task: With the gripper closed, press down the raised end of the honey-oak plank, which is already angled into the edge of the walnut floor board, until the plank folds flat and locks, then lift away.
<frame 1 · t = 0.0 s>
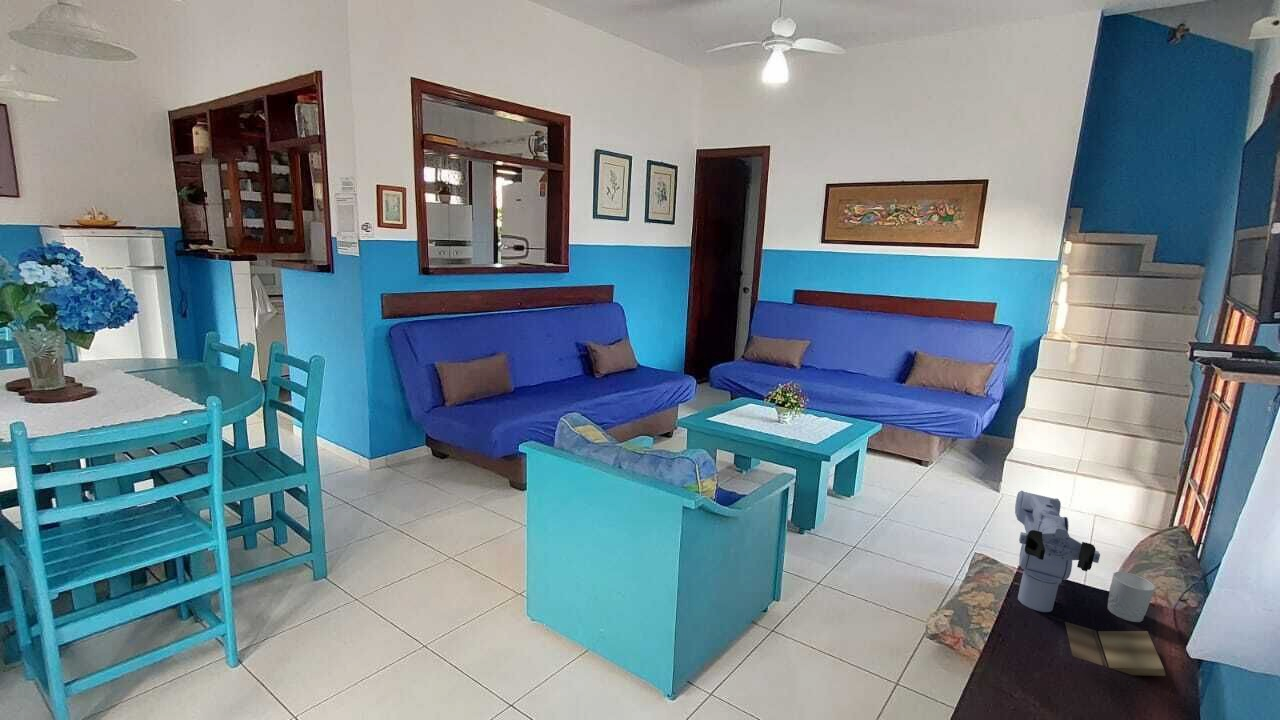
hand: (1063, 560, 132), 22 cm above the table, tool horizontal, fingers open, 7 cm apart
oak plank: (1129, 652, 135), point 2 cm above the table, hinge at 22.0°
white cup: (1123, 619, 152), on the table
walnut board: (1083, 649, 139), on the table
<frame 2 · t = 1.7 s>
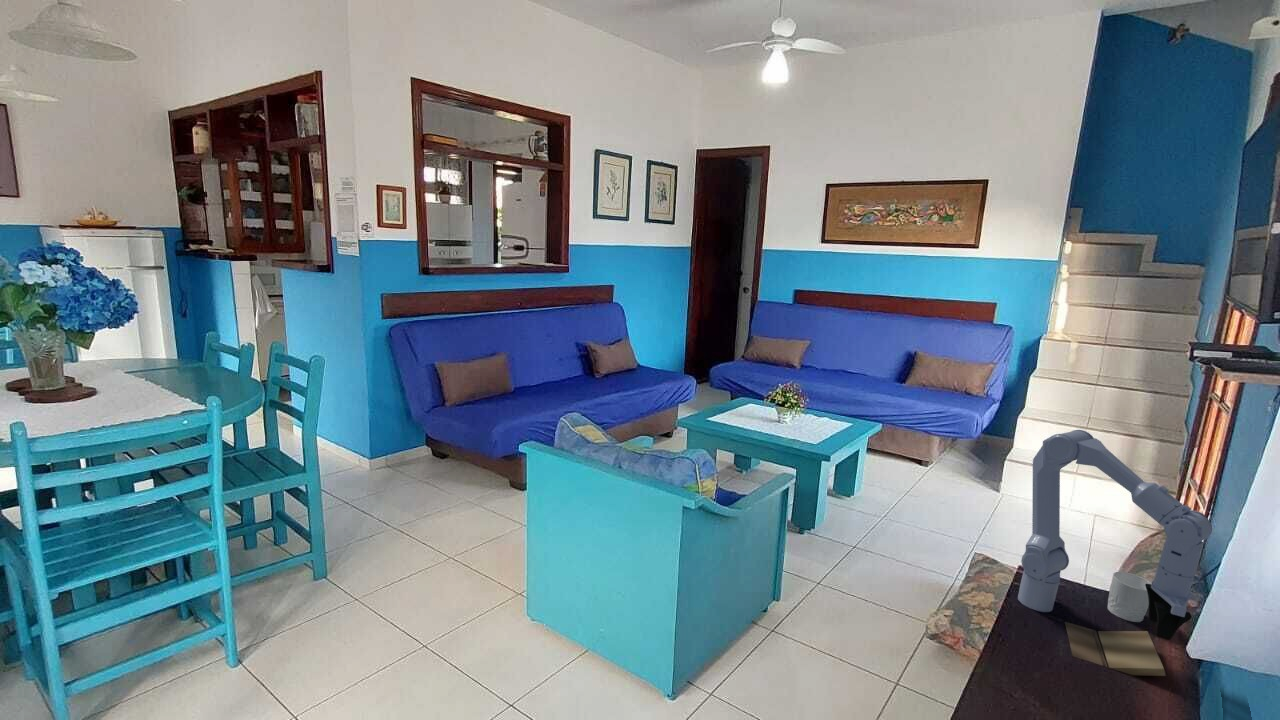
hand: (1158, 629, 132), 9 cm above the table, tool pointing down, fingers open, 6 cm apart
nothing on the table moved.
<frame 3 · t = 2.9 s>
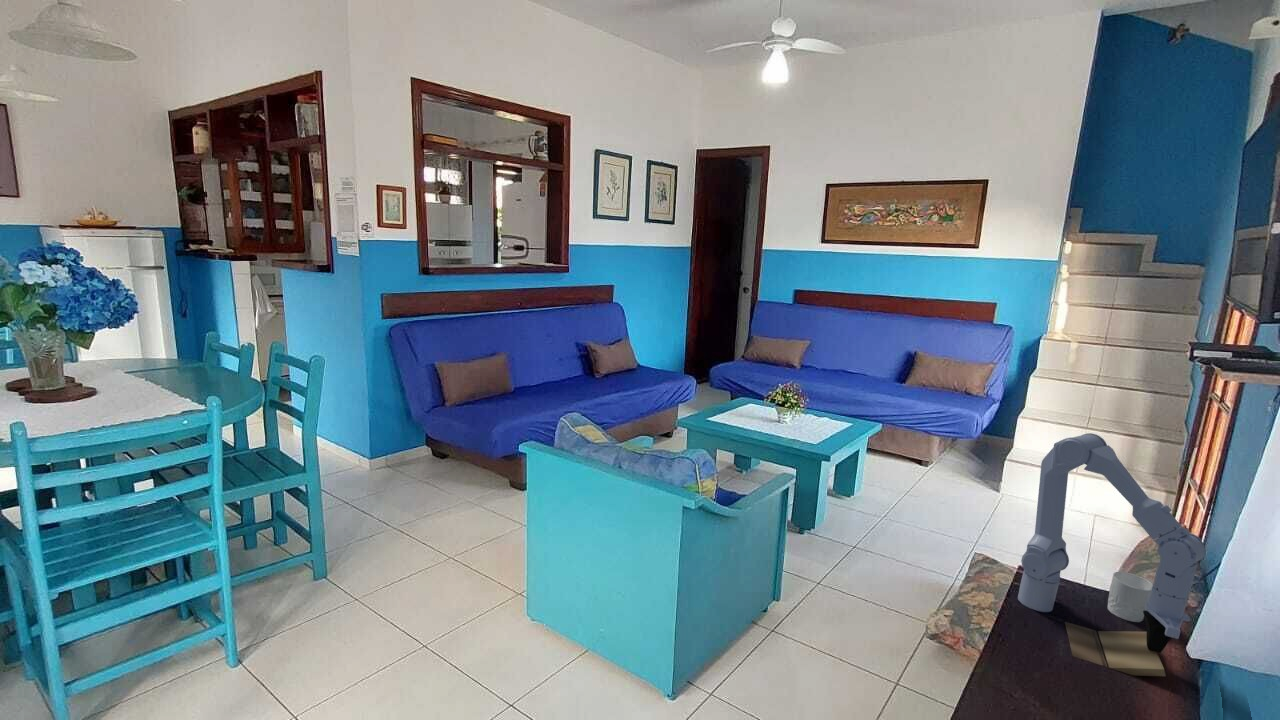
hand: (1153, 649, 133), 5 cm above the table, tool pointing down, fingers closed, pressing on oak plank
oak plank: (1129, 652, 135), point 2 cm above the table, hinge at 21.3°, touching gripper
everything else where it was.
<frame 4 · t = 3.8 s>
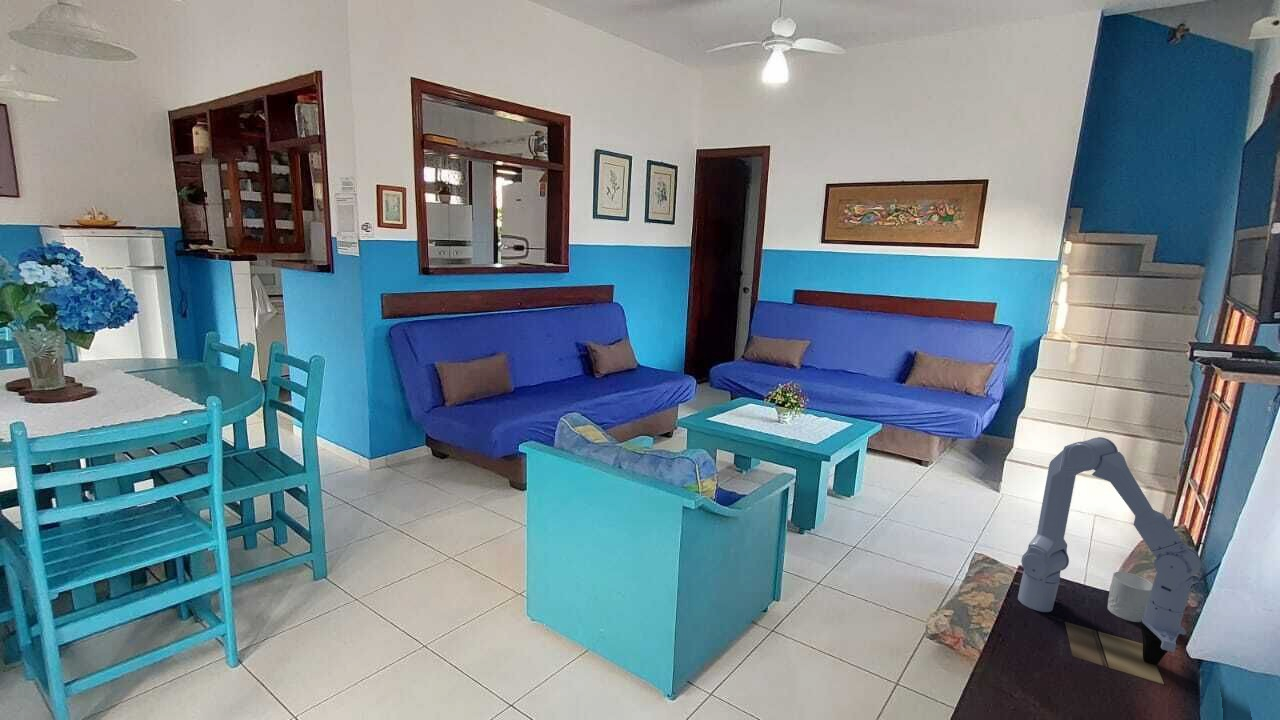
hand: (1149, 662, 134), 2 cm above the table, tool pointing down, fingers closed, pressing on oak plank
oak plank: (1128, 659, 135), point 1 cm above the table, hinge at 1.5°, touching gripper
everything else where it was.
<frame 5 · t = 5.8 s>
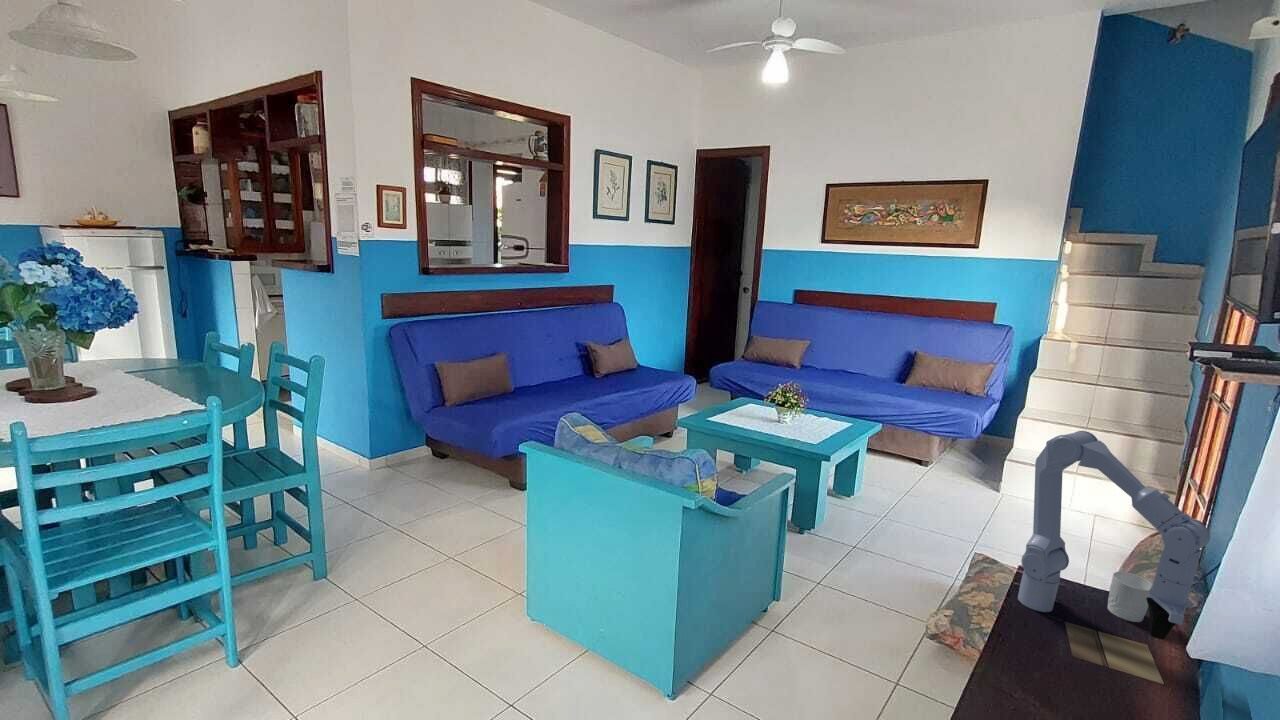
hand: (1156, 636, 132), 8 cm above the table, tool pointing down, fingers closed
oak plank: (1128, 659, 135), point 1 cm above the table, hinge at 1.4°
everything else where it was.
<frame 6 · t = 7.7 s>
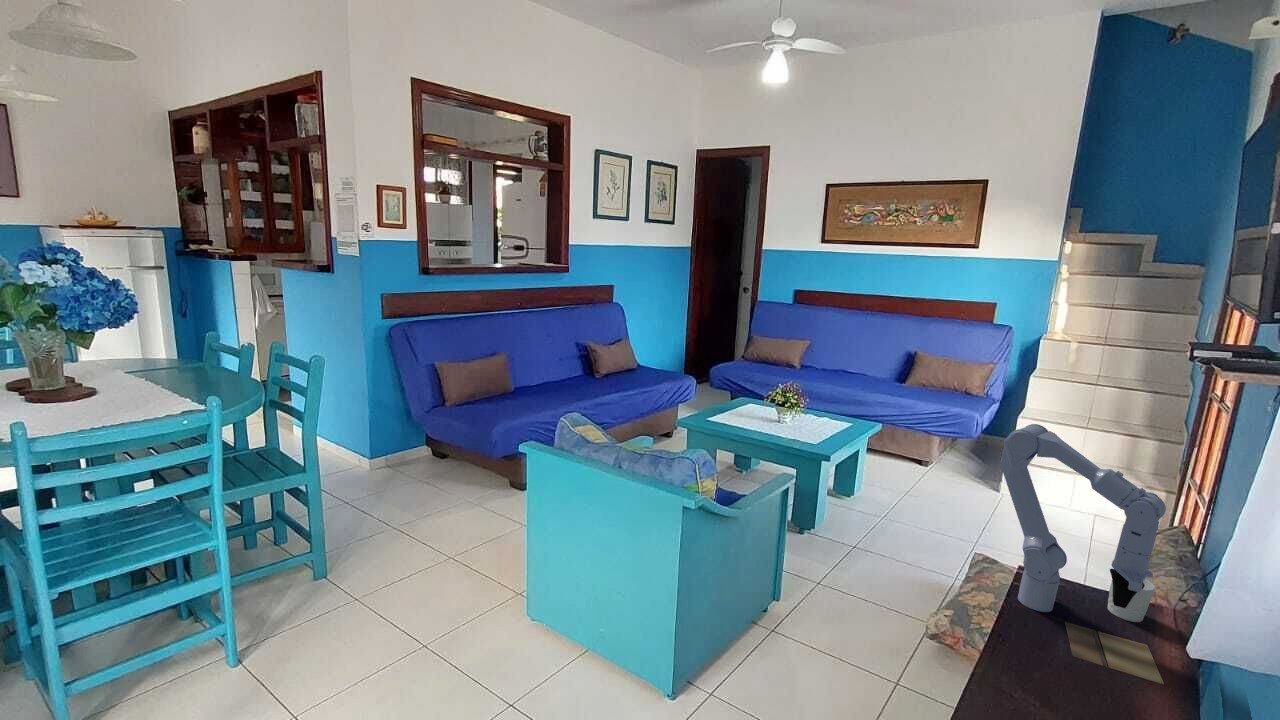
hand: (1119, 605, 140), 9 cm above the table, tool pointing down, fingers closed
nothing on the table moved.
at the end: oak plank at +1° (first picture: +22°) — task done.
